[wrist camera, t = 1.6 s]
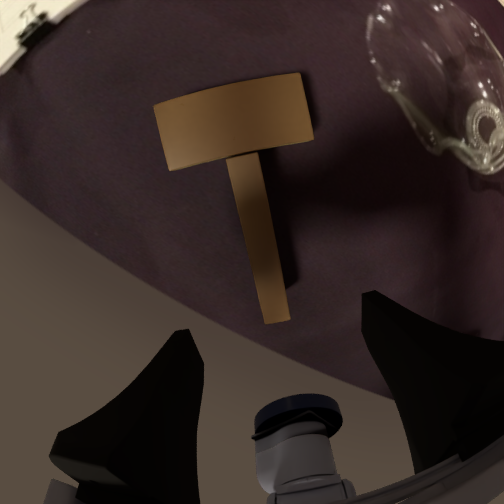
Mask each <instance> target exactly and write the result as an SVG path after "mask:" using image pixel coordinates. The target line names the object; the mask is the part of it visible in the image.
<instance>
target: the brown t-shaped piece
mask: <svg viewBox="0 0 504 504" xmlns="http://www.w3.org/2000/svg"><path fill="white" fill-rule="evenodd" d="M154 111H155V116H156V120H157V124H158V129H159V133H160V137H161V141H162V145H163V149H164V153H165V157H166V161H167V165H168V169H169V171H173V170H179V169H183V168H186V167H190V166H194V165H197V164H201V163H205V162H209V161H213V160H217V159H221V158H226V157H228V158H227V159H226V163H227V167H228V171H229V176H230V180H231V184H232V188H233V193H234V197H235V201H236V205H237V209H238V214H239V218H240V222H241V226H242V230H243V235H244V239H245V243H246V247H247V251H248V256H249V260H250V264H251V268H252V272H253V276H254V281H255V285H256V289H257V293H258V297H259V301H260V305H261V310H262V314H263V318H264V322H265V324H271V323H276V322H281V321H286V320H290V313H289V307H288V302H287V296H286V291H285V285H284V280H283V275H282V269H281V264H280V259H279V253H278V248H277V243H276V238H275V233H274V228H273V223H272V218H271V213H270V208H269V203H268V198H267V193H266V188H265V184H264V179H263V174H262V169H261V165H260V160H259V155H258V152H256V151H258V150H263V149H268V148H273V147H278V146H284V145H290V144H295V143H302V142H308V141H310V140H314V134H313V129H312V124H311V119H310V115H309V110H308V105H307V101H306V96H305V92H304V88H303V83H302V79H301V75H300V73H291V74H283V75H276V76H269V77H263V78H257V79H252V80H246V81H241V82H236V83H232V84H227V85H223V86H218V87H214V88H210V89H206V90H202V91H199V92H195V93H191V94H188V95H184V96H181V97H178V98H174V99H171V100H168V101H165V102H162V103H159V104H156V105H154ZM248 152H249V153H248ZM243 153H244V154H243ZM234 155H235V156H234ZM230 156H231V157H230Z"/></svg>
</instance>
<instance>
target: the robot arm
mask: <svg viewBox="0 0 504 504" xmlns="http://www.w3.org/2000/svg"><path fill="white" fill-rule="evenodd" d="M361 332H362V334H363V337H364V339H365V342H366V345H367V347H368V350H369V352H370V354H371V355H372V357H373V359H374V361H375V363H376V365H377V366H378V368H379V370H380V372H381V374H382V376H383V377H384V379H385V381H386V383H387V385H388V387H389V389H390V391H391V393H392V395H393V397H394V400H395V403H396V405H397V408H398V411H399V413H400V417H401V420H402V423H403V426H404V429H405V432H406V436H407V440H408V444H409V448H410V452H411V457H412V461H413V466H414V472H415V475H413V476H411V477H409V478H406V479H404V480H401V481H399V482H396V483H394V484H391V485H388V486H385V487H383V488H380V489H377V490H374V491H371V492H368V493H365V494H361V495H358V496H356V492H355V489H354V486H353V484H352V482H350V481H348V480H347V479H343V480H341V478H340V474H337V470H336V466H335V462H334V458H333V454H332V449H331V445H330V441H329V437H328V435H330V434H332V433H334V432H336V431H337V427H335V426H334V425H332V424H330V423H329V422H327V421H326V420H324V419H323V418H321V417H320V416H318V415H317V414H315V413H314V412H313V411H311V410H308V411H306V412H303V413H301V414H299V415H297V416H295V417H293V418H291V419H289V420H287V421H284V422H282V423H280V424H278V425H275V426H273V427H271V428H268V429H266V430H264V431H261V432H259V433H256V434H254V435H252V436H251V439H253V440H254V441H255V453H256V473H257V478H258V481H259V483H260V485H261V487H262V488H263V489H264V490H265V491H266V492H267V493H269V494H270V496H269V497H268V498H267V504H395V503H397V502H399V501H402V500H404V501H402V502H400V503H398V504H487V503H489V502H490V501H491V500H493V499H494V498H495V497H497V496H498V495H499V494H501V493H502V492H503V491H504V341H496V340H490V339H484V338H479V337H475V336H471V335H467V334H464V333H460V332H457V331H454V330H451V329H449V328H446V327H444V326H441V325H439V324H436V323H434V322H432V321H430V320H428V319H426V318H424V317H422V316H420V315H418V314H416V313H414V312H412V311H410V310H408V309H407V308H405V307H403V306H401V305H400V304H398V303H396V302H395V301H393V300H391V299H390V298H388V297H386V296H385V295H383V294H381V293H379V292H378V291H376V290H373V291H370V292H366V293H362V328H361ZM203 385H204V362H203V360H202V358H201V356H200V354H199V351H198V349H197V347H196V344H195V342H194V340H193V337H192V335H191V333H190V330H189V329H185V330H178V331H175V332H174V333H173V334H172V335H171V337H170V338H169V339H168V340H167V342H166V343H165V344H164V345H163V347H162V348H161V349H160V350H159V352H158V353H157V354H156V355H155V357H154V358H153V359H152V360H151V362H150V363H149V364H148V365H147V366H146V367H145V368H144V370H143V371H142V372H141V373H140V374H139V375H138V376H137V377H136V379H135V380H134V381H133V382H132V383H131V384H130V385H129V386H128V387H126V388H125V389H124V390H123V391H122V392H121V393H120V394H119V395H118V396H116V397H115V398H114V399H113V400H111V401H110V402H109V403H107V404H106V405H105V406H104V407H102V408H101V409H100V410H98V411H97V412H95V413H94V414H92V415H90V416H89V417H87V418H85V419H84V420H82V421H80V422H78V423H76V424H75V425H73V426H71V427H69V428H66V429H64V430H62V431H60V432H58V434H57V437H56V439H55V442H54V444H53V446H52V449H51V452H50V454H49V458H50V460H51V461H52V463H53V464H54V465H55V466H57V467H58V468H59V469H60V470H62V471H63V472H64V473H66V474H67V475H68V476H70V477H71V478H73V479H74V480H76V481H77V482H78V483H79V486H78V488H76V487H73V486H71V485H69V484H66V483H63V482H60V481H58V480H55V479H51V482H50V485H49V488H48V491H47V494H46V497H45V500H44V504H200V498H199V489H198V476H197V427H198V426H197V425H198V420H199V413H200V406H201V400H202V393H203ZM409 497H410V498H409ZM407 498H408V499H407ZM405 499H406V500H405Z"/></svg>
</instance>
